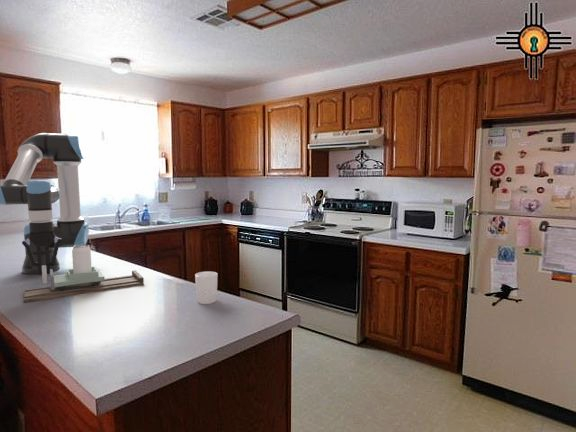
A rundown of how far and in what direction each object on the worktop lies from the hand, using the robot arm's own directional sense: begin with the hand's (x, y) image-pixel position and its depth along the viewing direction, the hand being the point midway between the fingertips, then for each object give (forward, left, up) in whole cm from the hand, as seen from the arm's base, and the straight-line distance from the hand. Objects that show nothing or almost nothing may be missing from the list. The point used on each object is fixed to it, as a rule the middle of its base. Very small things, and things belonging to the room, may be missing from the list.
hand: (45, 282), depth 147 cm
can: (0, +13, +1) cm, 13 cm away
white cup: (+42, +48, -5) cm, 64 cm away
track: (0, +14, -4) cm, 14 cm away
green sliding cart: (0, +11, -3) cm, 11 cm away
